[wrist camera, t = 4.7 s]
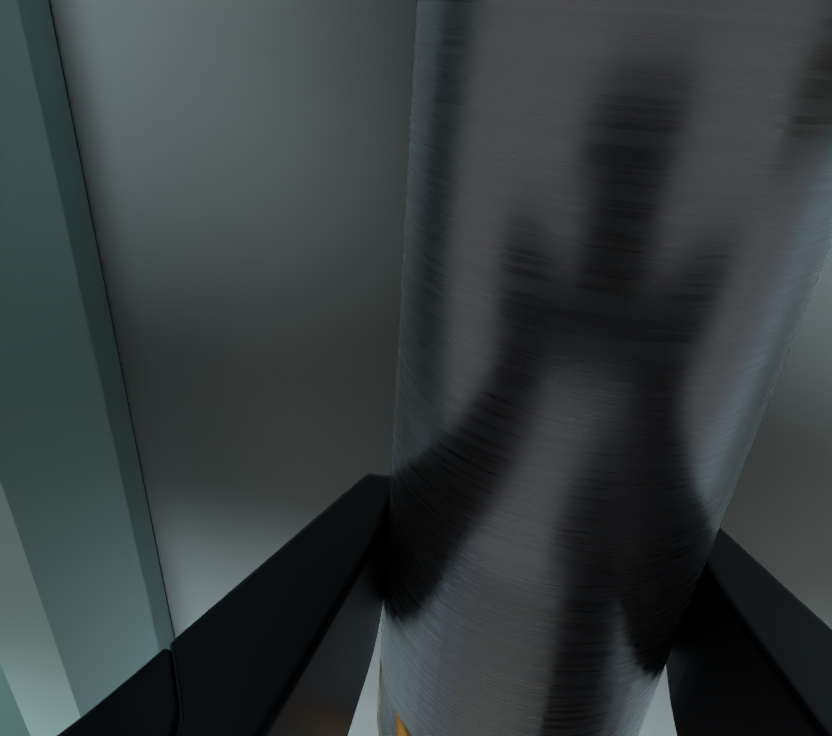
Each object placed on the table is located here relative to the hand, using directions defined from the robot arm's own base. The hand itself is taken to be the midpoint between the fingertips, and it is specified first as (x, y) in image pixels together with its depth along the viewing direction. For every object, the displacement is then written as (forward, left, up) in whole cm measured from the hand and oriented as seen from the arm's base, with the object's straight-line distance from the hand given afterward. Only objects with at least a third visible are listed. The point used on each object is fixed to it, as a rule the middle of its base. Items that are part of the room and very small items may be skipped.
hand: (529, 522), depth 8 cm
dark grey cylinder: (+4, 0, -1) cm, 4 cm away
